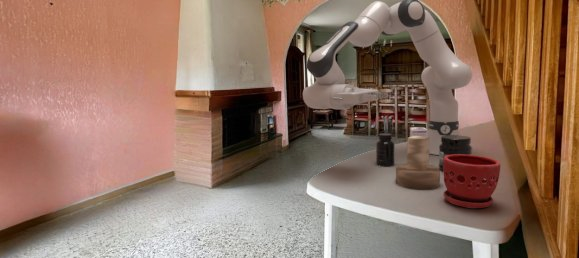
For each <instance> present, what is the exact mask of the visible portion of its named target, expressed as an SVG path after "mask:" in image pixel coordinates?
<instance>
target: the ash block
mask: <svg viewBox="0 0 579 258" xmlns="http://www.w3.org/2000/svg"><path fill="white" fill-rule="evenodd" d="M406 149H407V151H406V152H407V155H406V157H407V158H406V164H407V169H409V170H416V171H425V170H426V169H428V168H429V165H430V159H429V157H430V154H429V137H424V136H411V137H410V136H409V137H407V148H406Z"/></svg>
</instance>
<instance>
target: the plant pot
mask: <svg viewBox="0 0 579 258" xmlns="http://www.w3.org/2000/svg"><path fill="white" fill-rule="evenodd" d="M451 171H452V173H451ZM442 172H443V182H444V185H445V188H446V190H444V191H443V194H442V195H443V197H444V199H445V200H446V201H448V202H449V203H450V204H452V205H454V206H455V205H456V206H457V207H463V208H468V209H481V208H486V207H487V208H488V207H489V206H491V205H492V204H493V202H494V199H493V193H494V192H495V190H496V189H497V187H498V183H499V178H500V173H501V162H500V161H498V160H496V159H494V158H491V157H487V156H481V155H474V154H471V155H463V154H454V155H447V156H445V157H444V160H443V170H442Z"/></svg>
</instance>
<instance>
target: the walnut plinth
mask: <svg viewBox="0 0 579 258" xmlns="http://www.w3.org/2000/svg"><path fill="white" fill-rule="evenodd" d="M440 182H441V169H440V168H439V167H437V166H435V165H430V164H429V168H428V169H426V170H425V171H416V170H409V169H407V163H404V164H399V165H397V166H396V167H395V184H396V185H398V186H399V187H402V188H406V189H409V190H418V191H419V190H420V191H425V190H427V191H429V190H434V189H437V188H438V189H439V188H440V186H441V185H440V184H441V183H440Z"/></svg>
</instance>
